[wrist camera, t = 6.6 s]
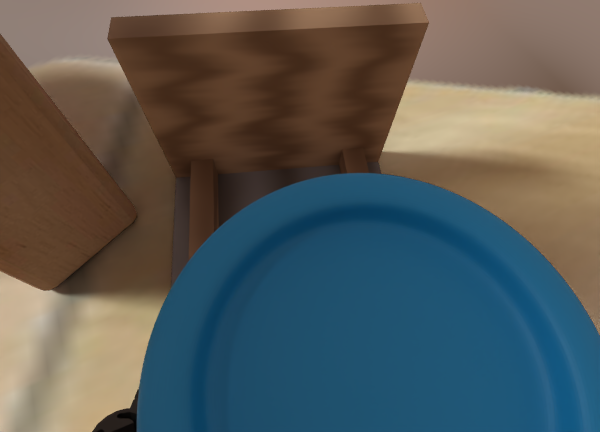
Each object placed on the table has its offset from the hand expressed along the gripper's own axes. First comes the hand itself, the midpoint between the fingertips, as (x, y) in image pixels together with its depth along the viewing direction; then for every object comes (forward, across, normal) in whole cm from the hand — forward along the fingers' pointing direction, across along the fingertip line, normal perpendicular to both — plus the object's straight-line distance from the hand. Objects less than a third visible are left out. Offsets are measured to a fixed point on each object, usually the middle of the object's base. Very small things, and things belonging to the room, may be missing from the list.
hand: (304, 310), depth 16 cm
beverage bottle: (+4, 0, -9) cm, 9 cm away
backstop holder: (+18, 0, -3) cm, 18 cm away
